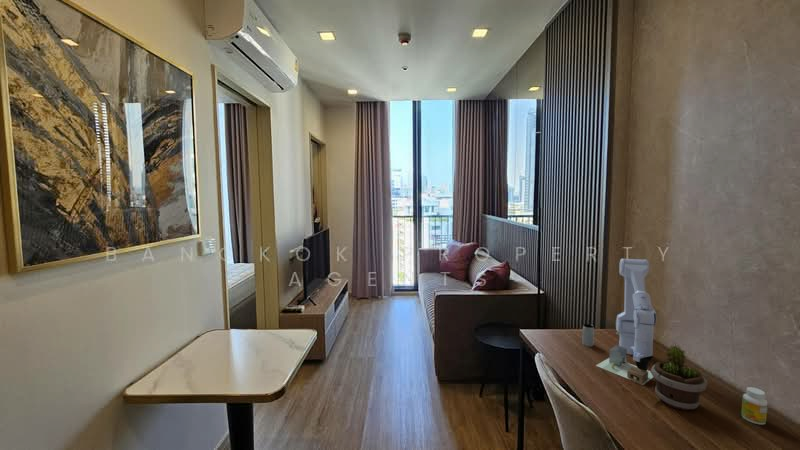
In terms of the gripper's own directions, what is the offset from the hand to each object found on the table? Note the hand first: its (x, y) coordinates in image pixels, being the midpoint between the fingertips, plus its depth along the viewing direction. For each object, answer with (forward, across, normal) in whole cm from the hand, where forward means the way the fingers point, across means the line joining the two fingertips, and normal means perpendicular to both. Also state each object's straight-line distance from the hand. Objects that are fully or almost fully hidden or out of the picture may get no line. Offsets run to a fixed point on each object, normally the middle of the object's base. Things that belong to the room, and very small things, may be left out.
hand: (641, 372), depth 129 cm
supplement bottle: (+2, 0, +30) cm, 30 cm away
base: (+2, 0, -6) cm, 6 cm away
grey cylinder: (+2, -12, -25) cm, 28 cm away
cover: (+1, +4, 0) cm, 4 cm away
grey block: (+1, -4, -10) cm, 11 cm away
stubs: (+1, +5, 0) cm, 5 cm away
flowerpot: (+2, +8, +13) cm, 15 cm away
